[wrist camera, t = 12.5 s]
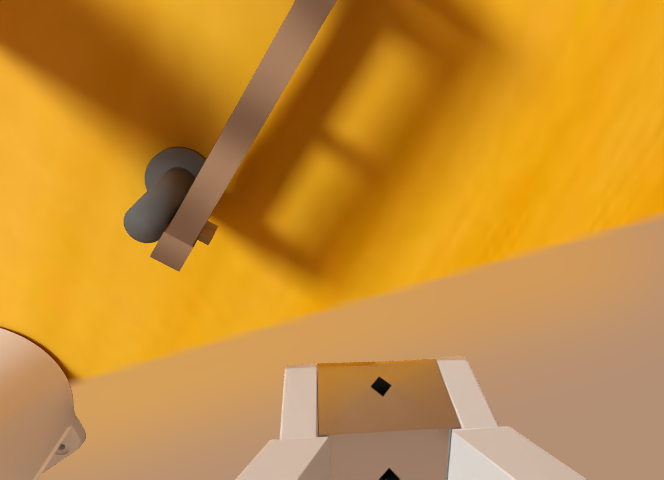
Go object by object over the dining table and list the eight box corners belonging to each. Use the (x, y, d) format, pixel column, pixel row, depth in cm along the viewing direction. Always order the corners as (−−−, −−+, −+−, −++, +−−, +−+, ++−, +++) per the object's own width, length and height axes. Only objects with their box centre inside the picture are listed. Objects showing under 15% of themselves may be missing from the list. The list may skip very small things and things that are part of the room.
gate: (335, -59, 30) (345, -94, 21) (369, -33, 30) (393, -56, 22) (188, 201, 36) (149, 256, 27) (219, 218, 37) (191, 277, 28)
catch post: (189, 223, 38) (156, 277, 30) (134, 182, 36) (83, 227, 28) (229, 177, 37) (205, 221, 28) (173, 132, 35) (132, 165, 27)
